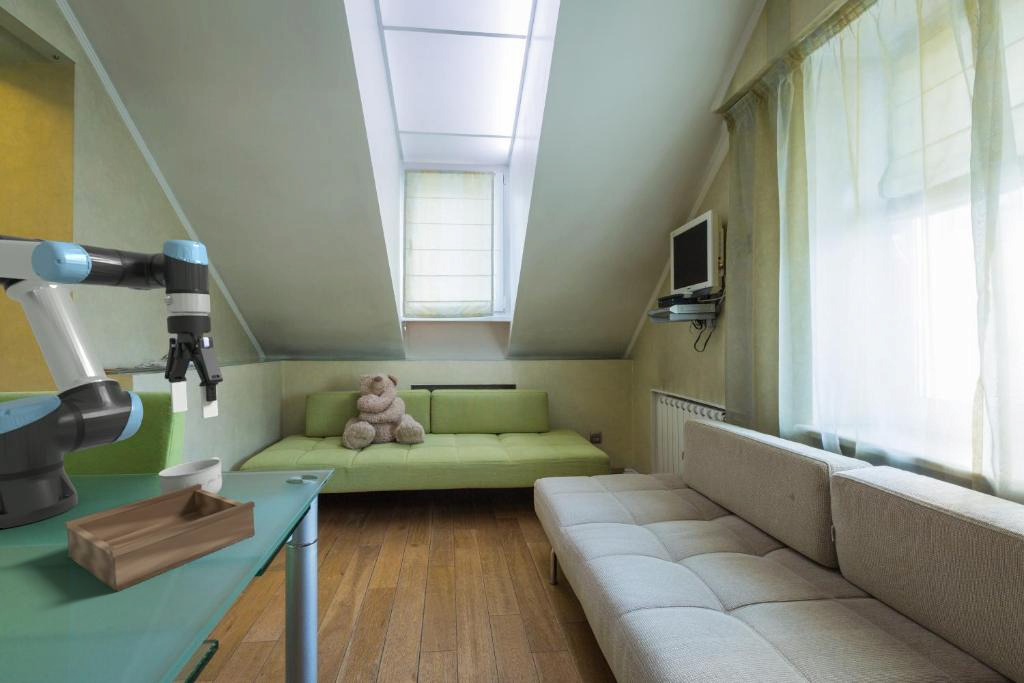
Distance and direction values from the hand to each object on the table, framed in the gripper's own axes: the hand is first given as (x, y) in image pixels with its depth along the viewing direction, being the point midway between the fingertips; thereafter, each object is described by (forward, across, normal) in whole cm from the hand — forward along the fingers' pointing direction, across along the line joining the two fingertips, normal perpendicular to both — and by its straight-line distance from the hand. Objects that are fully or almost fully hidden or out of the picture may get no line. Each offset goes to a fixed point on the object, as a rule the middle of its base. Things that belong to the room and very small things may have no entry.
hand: (194, 414), depth 95 cm
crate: (+18, +18, -13) cm, 29 cm away
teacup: (+19, 0, 0) cm, 19 cm away
